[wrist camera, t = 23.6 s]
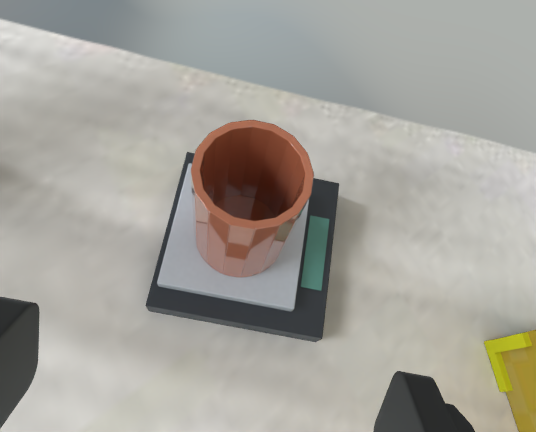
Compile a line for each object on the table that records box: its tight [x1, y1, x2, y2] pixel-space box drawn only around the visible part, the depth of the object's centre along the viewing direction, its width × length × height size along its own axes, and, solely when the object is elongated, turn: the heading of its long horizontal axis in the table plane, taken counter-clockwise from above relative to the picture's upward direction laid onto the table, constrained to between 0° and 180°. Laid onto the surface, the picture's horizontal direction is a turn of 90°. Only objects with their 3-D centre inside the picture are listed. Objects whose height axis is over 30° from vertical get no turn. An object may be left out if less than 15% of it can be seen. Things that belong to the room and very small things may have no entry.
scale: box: [146, 152, 339, 342], centre depth 36 cm, size 13×13×3 cm
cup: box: [191, 120, 314, 277], centre depth 30 cm, size 7×7×10 cm
